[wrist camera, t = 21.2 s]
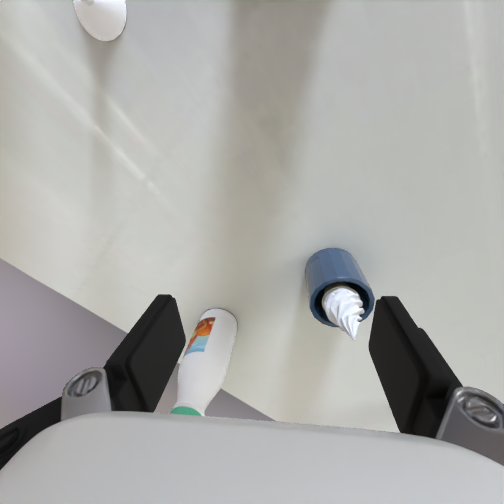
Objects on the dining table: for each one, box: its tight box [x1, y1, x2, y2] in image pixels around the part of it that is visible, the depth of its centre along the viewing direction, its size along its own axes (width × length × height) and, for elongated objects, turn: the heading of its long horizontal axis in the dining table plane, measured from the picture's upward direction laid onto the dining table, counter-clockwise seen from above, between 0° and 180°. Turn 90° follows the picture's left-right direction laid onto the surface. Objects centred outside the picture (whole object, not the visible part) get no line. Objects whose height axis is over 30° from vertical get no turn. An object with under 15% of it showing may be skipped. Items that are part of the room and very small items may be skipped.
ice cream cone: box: [322, 281, 364, 341], centre depth 34 cm, size 5×5×15 cm
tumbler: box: [305, 248, 375, 327], centre depth 38 cm, size 8×8×9 cm
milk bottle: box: [170, 309, 238, 416], centre depth 41 cm, size 8×8×20 cm
